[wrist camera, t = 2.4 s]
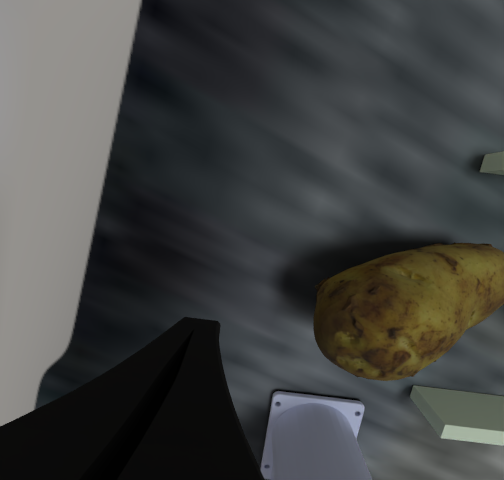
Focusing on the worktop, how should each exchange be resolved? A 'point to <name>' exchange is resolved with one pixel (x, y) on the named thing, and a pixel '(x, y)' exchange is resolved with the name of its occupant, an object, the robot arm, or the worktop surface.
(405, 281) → the potato
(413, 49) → the worktop surface
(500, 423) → the pale green rail frame
